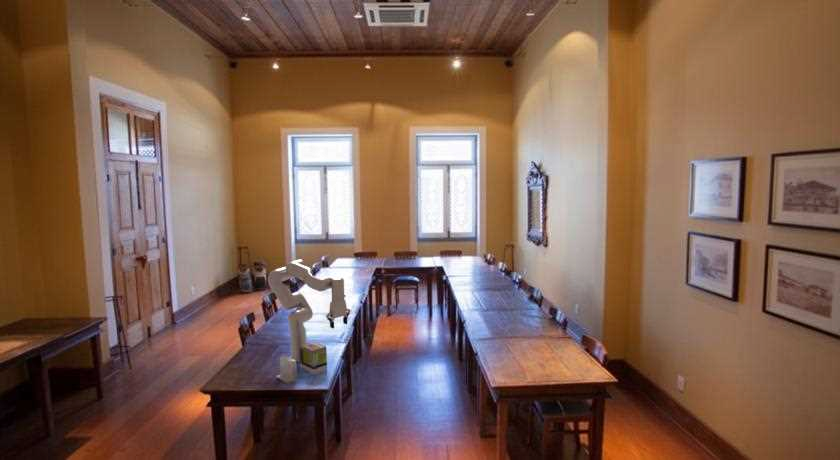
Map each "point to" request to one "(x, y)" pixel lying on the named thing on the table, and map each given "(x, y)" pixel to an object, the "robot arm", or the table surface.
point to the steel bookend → (287, 370)
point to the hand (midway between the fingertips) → (338, 325)
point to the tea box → (313, 357)
